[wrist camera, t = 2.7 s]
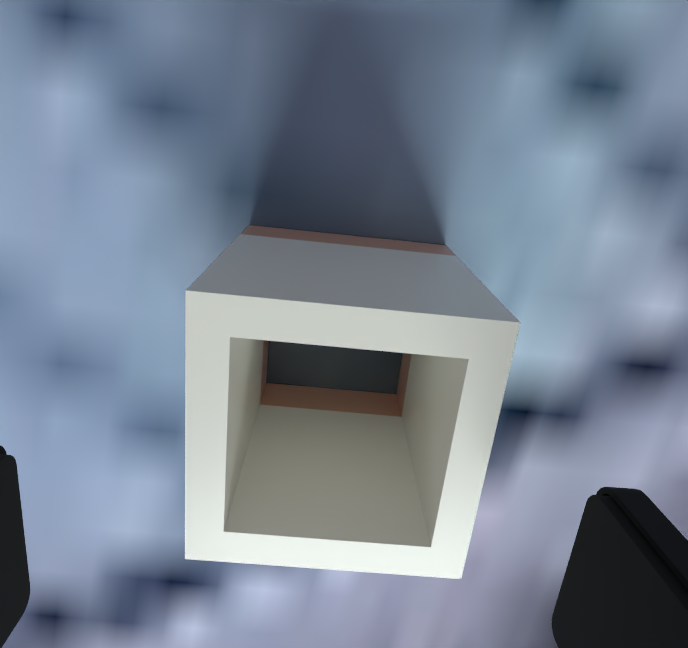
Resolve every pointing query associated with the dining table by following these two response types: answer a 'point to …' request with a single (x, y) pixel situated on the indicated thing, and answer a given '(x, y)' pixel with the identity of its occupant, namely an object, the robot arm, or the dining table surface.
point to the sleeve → (340, 405)
